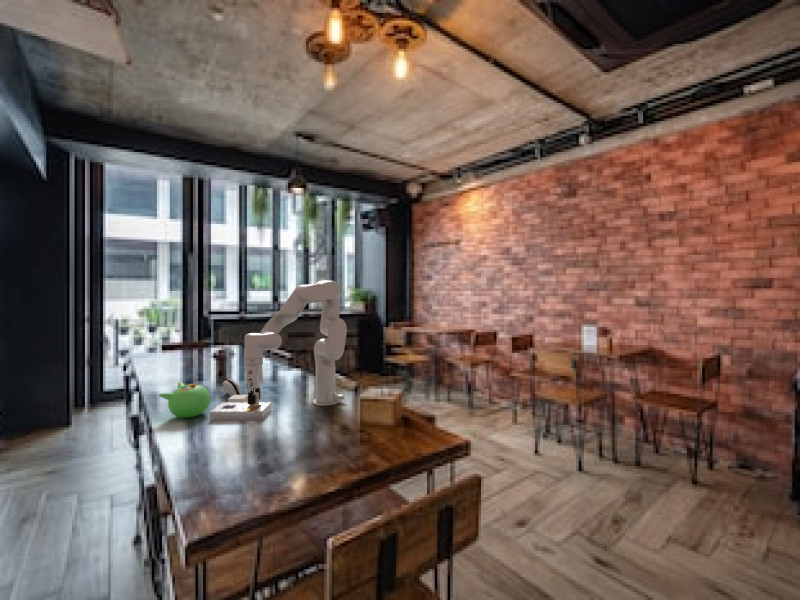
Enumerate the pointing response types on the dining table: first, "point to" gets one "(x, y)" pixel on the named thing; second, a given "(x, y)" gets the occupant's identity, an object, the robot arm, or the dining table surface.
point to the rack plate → (240, 412)
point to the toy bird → (187, 400)
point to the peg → (256, 402)
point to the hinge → (232, 387)
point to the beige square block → (238, 398)
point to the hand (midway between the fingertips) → (254, 401)
